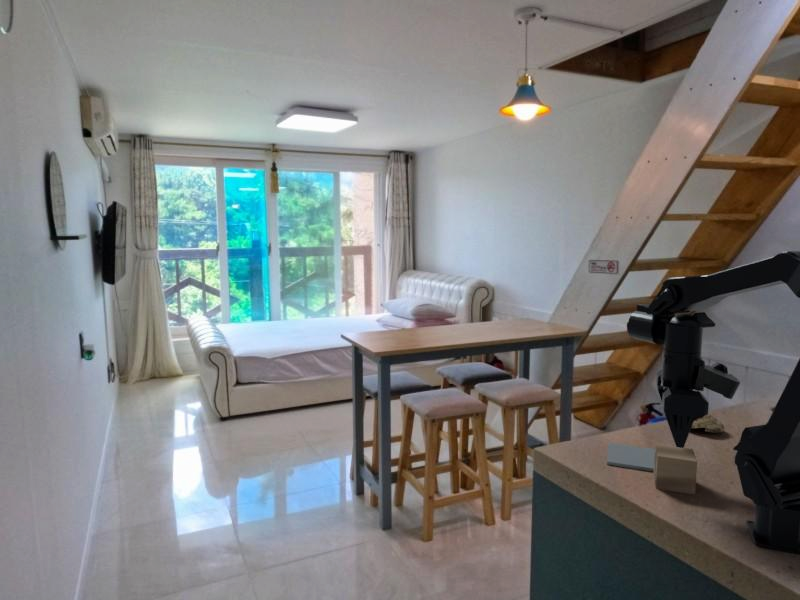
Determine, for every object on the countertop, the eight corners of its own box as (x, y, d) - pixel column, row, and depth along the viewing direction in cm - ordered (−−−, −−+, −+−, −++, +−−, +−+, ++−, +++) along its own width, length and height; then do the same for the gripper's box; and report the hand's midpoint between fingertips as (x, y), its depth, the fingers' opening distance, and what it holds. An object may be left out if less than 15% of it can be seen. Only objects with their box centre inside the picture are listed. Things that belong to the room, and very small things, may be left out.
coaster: (665, 473, 96) (665, 470, 96) (607, 464, 100) (607, 461, 100) (661, 452, 105) (661, 449, 105) (607, 445, 109) (608, 442, 109)
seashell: (721, 429, 111) (685, 406, 116) (708, 449, 113) (673, 426, 119) (733, 421, 117) (698, 400, 122) (720, 440, 119) (686, 419, 124)
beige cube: (694, 495, 88) (697, 461, 88) (655, 488, 91) (657, 455, 90) (690, 480, 94) (692, 448, 93) (653, 474, 96) (655, 443, 95)
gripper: (750, 366, 78) (742, 466, 79) (726, 343, 95) (720, 426, 97) (666, 360, 82) (661, 455, 84) (658, 339, 99) (653, 418, 101)
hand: (676, 437), depth 91 cm, fingers open, 9 cm apart
